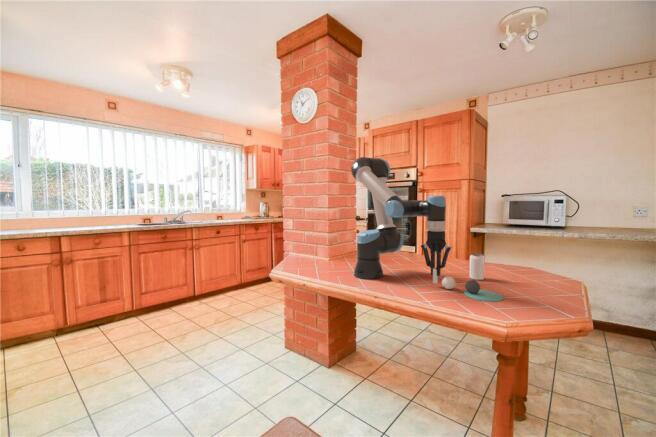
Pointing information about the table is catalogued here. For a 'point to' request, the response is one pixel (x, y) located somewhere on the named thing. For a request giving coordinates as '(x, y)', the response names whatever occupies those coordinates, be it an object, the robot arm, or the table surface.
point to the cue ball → (448, 282)
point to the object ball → (472, 286)
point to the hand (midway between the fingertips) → (435, 282)
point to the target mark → (485, 296)
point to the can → (477, 266)
